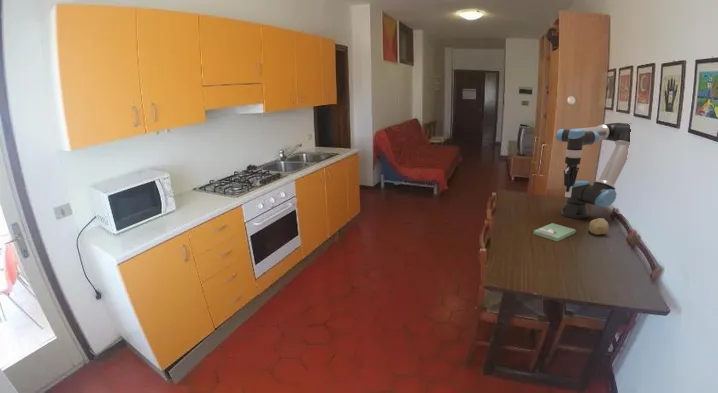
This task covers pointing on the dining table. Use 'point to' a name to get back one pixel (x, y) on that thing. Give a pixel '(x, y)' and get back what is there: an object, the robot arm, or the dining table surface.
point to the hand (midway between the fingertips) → (567, 196)
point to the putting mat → (558, 234)
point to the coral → (599, 226)
